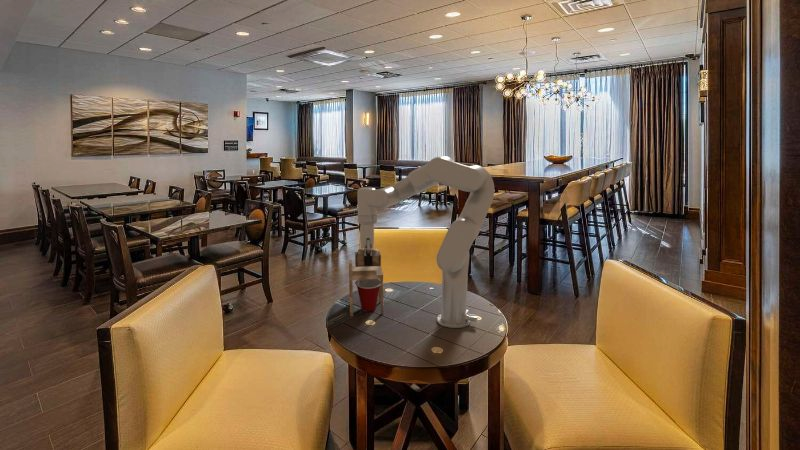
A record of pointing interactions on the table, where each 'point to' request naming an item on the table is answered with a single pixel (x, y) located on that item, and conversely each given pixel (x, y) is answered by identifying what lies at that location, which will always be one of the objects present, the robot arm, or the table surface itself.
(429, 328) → the table surface
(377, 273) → the tan flanged panel
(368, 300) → the plastic cup
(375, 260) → the tray
